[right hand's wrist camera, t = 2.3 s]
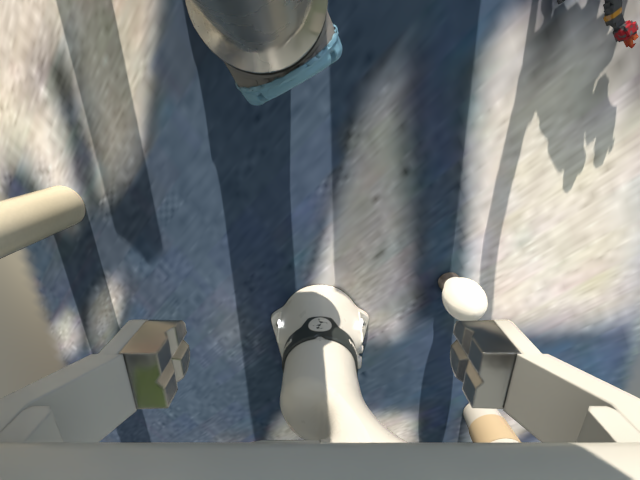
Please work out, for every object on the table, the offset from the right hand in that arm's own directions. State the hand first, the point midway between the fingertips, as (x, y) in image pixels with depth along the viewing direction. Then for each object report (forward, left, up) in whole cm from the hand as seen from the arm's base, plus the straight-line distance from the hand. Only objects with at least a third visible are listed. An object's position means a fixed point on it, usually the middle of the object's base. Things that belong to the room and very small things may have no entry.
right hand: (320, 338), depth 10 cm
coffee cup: (-55, -35, -48) cm, 81 cm away
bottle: (-8, +44, -48) cm, 66 cm away
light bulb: (-23, -24, -48) cm, 58 cm away
